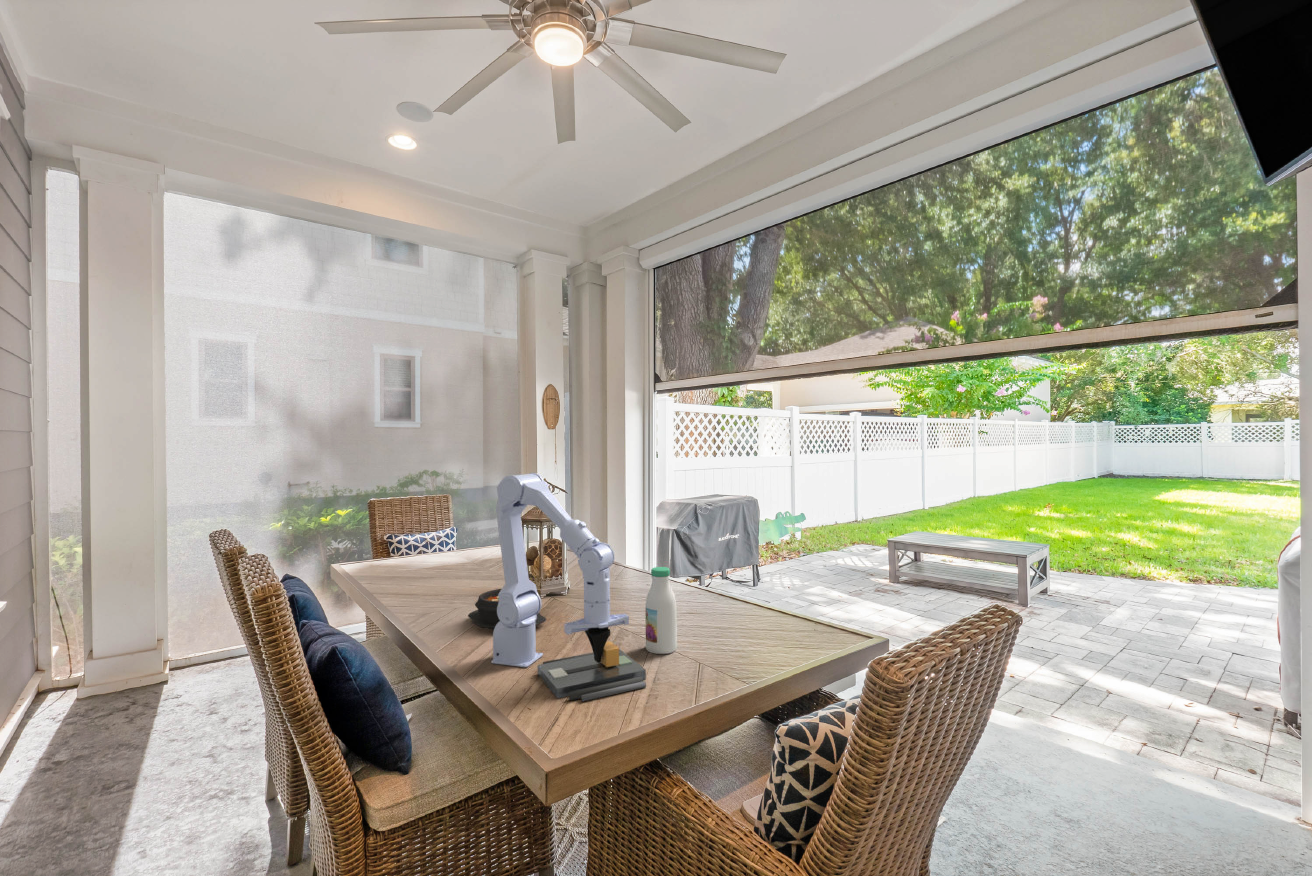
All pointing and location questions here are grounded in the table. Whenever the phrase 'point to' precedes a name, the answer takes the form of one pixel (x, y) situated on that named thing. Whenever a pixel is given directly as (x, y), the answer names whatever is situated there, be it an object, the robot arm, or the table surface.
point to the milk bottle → (661, 614)
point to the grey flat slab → (586, 673)
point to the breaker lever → (610, 655)
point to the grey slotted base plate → (603, 686)
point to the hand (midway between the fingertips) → (597, 661)
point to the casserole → (491, 611)
